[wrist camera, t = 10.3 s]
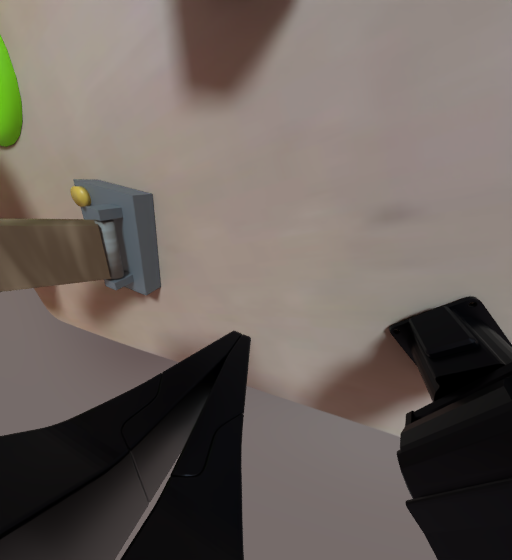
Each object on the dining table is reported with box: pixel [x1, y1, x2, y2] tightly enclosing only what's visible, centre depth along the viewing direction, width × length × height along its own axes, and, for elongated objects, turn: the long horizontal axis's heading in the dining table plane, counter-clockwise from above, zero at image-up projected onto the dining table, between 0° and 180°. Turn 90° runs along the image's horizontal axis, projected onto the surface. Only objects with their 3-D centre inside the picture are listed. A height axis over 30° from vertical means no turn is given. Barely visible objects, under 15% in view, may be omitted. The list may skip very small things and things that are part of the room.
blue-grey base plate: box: [71, 179, 161, 295], centre depth 23 cm, size 8×12×5 cm, turn 170°
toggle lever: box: [0, 219, 124, 292], centre depth 17 cm, size 4×6×17 cm
